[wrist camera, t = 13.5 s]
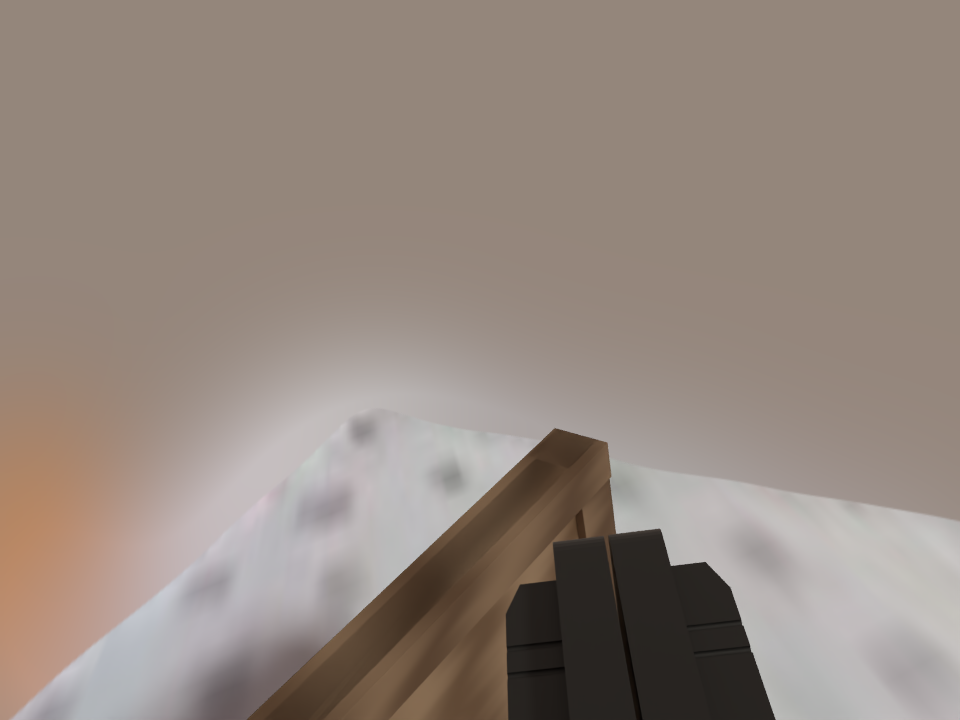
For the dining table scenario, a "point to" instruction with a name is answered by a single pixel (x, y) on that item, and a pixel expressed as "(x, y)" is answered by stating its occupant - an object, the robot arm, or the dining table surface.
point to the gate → (458, 600)
